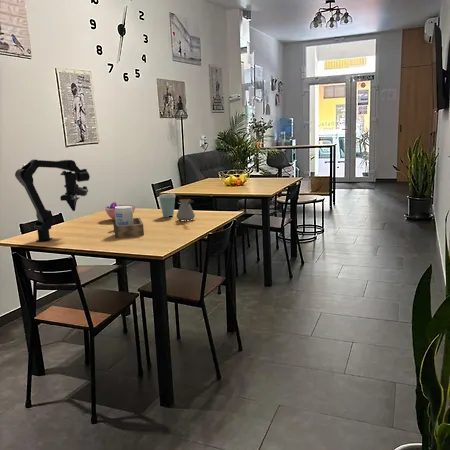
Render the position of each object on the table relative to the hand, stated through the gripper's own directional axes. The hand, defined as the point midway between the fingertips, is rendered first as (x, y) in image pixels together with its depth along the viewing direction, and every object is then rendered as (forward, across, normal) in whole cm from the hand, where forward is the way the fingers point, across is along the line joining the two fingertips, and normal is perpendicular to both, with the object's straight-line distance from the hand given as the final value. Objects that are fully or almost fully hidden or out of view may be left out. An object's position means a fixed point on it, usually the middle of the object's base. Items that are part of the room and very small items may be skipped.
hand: (73, 210), depth 249 cm
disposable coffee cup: (+13, +44, -45) cm, 64 cm away
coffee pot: (+13, +26, -60) cm, 67 cm away
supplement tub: (+13, -1, -28) cm, 31 cm away
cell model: (+13, +38, -15) cm, 43 cm away
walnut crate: (+13, 0, -30) cm, 33 cm away
